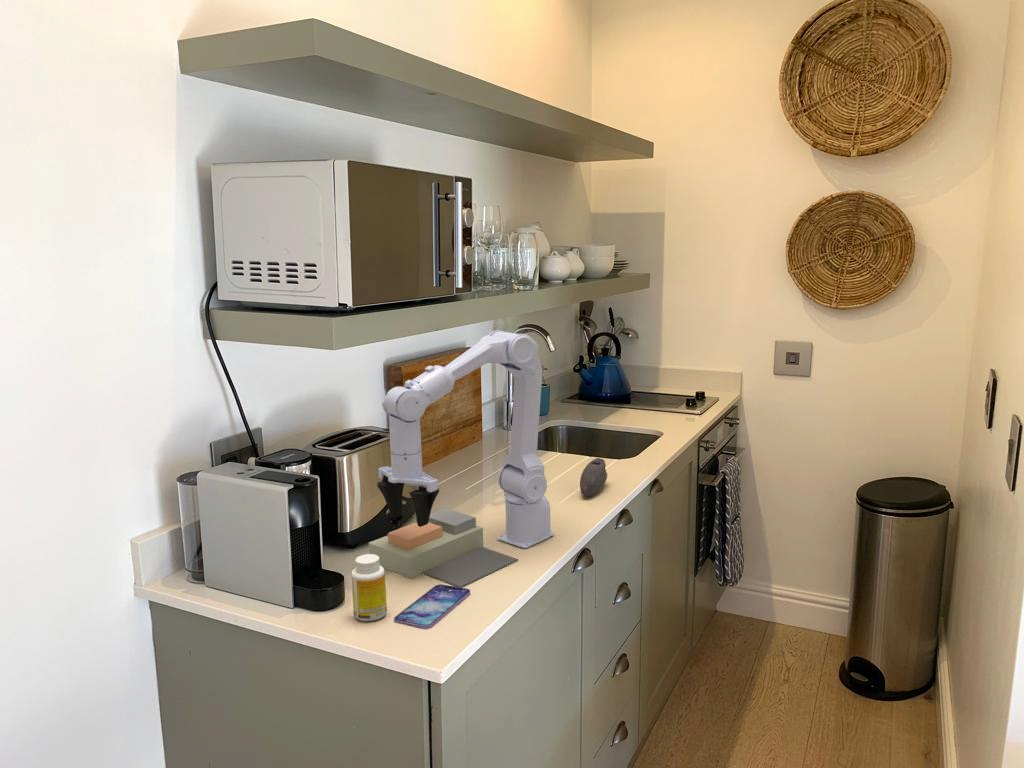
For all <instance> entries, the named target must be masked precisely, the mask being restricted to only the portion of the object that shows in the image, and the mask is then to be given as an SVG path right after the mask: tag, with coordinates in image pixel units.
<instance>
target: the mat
mask: <svg viewBox="0 0 1024 768" xmlns="http://www.w3.org/2000/svg"><path fill="white" fill-rule="evenodd" d="M517 560H518V561H519V558H516V557H513V556H510V555H507V554H504V553H501V552H498V551H495V550H492V549H490V548H487V547H484V546H482V547H480V548H478V549H475V550H473V551H471V552H469V553H466V554H464V555H462V556H459V557H457V558H455V559H453V560H450V561H448V562H446V563H443V564H441V565H439V566H436V567H434V568H432V569H430V570H427V571H425V572H423V574H424V575H426V576H428V577H431V578H434V579H437V580H438V581H440V582H444V583H446V584H447V585H448V584H449V585H450V586H455V587H461V588H465V587H466V586H468V585H470V584H473V583H475V582H476V581H478V580H481V579H483V578H485V577H487V576H489V575H491V574H493V573H495V572H498V571H499V570H501V569H504V568H506V567H508V566H510V565H512V564H514V563H516V562H515V561H517ZM518 561H517V562H518ZM513 562H514V563H513ZM511 563H512V564H511ZM509 564H510V565H509ZM507 565H508V566H507ZM505 566H506V567H505Z"/></svg>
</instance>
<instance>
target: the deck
mask: <svg viewBox="0 0 1024 768" xmlns="http://www.w3.org/2000/svg"><path fill="white" fill-rule="evenodd" d="M442 533H443V536H442V537H440V538H437V539H435V540H432V541H430V542H427V543H425V544H422V545H420V546H417V547H415V548H412V549H410V550H407V549H404V548H401V547H399V546H396V545H393V544H391V543H388V535H386V536H383V537H380V538H378V539H377V538H376V539H375V540H373V541H369V542H368V554H374V555H377V556H378V557H379V562H380V566H382V567H383V568H384V569H387V570H388V571H392V572H394V573H396V574H399V575H401V576H403V577H406V578H408V579H411V578H414V577H416V576H418V575H421V574H422V573H423V572H425V571H427V570H430V569H432V568H434V567H436V566H439V565H441V564H443V563H446V562H448V561H450V560H453V559H455V558H457V557H459V556H462V555H464V554H466V553H469V552H471V551H473V550H475V549H478V548H480V547H484V527H482V526H478V525H476V527H474V528H472V529H469V530H467V531H464V532H462V533H459V534H457V535H453V534H450V533H447V532H444V531H442Z"/></svg>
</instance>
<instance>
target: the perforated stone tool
mask: <svg viewBox="0 0 1024 768" xmlns="http://www.w3.org/2000/svg"><path fill="white" fill-rule="evenodd" d="M606 466H607V465H606V461H605V460H604V459H603V458H599V457H597V458H594V459H592V460H591V461H590V462H588V463H587V464H586V465H585V467H584V469H582V473H581V475H580V479H579V488H580V493H581V494H582V496H584V497H586V498H589V497H592V496H594V495H595V494H596V493H598V492H599V491H600V490H602V488H603V486H604V485H605V483H606V481H607V479H608V473H607V470H606Z"/></svg>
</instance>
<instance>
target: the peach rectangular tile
mask: <svg viewBox="0 0 1024 768" xmlns="http://www.w3.org/2000/svg"><path fill="white" fill-rule="evenodd" d="M387 536H388V543H391V544H393V545H396V546H399V547H401V548H404V549H407V550H410V549H412V548H415V547H417V546H420V545H422V544H425V543H427V542H430V541H432V540H435V539H437V538H440V537H442V536H443V533H442V527H441V526H438V525H435V524H432V523H429V522H428V524H427V525H424V526H422V527H419V526H418V524H417V521H416V522H413V523H411V524H408V525H405V526H402V527H400V528H398V529H395V530H392V531H390V532H388V533H387Z"/></svg>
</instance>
